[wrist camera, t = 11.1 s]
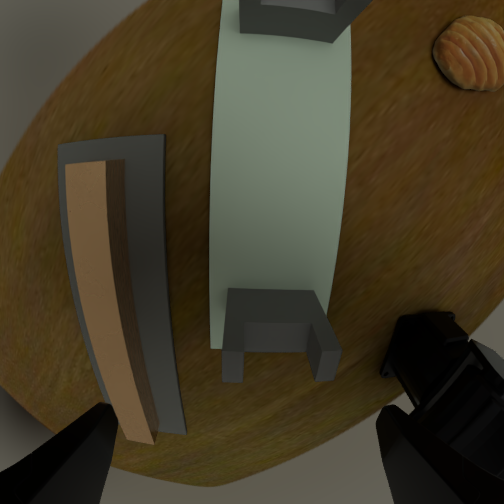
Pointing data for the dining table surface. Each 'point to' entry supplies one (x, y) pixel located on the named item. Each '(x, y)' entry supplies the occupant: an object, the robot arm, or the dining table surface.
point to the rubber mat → (136, 261)
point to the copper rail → (109, 290)
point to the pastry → (472, 53)
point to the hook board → (278, 178)
